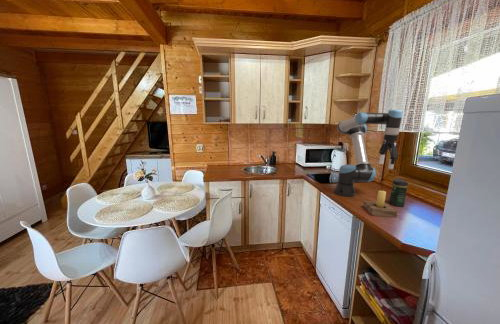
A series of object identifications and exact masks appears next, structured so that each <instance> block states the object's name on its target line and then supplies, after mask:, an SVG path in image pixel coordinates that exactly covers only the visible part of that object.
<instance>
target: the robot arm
mask: <svg viewBox="0 0 500 324" xmlns="http://www.w3.org/2000/svg"><path fill="white" fill-rule="evenodd" d="M402 119H403V109H390V110H388V112H364V111H363V112H357V113H356V115H355V116H354V117H352V118H349V119H347V120H341V121H340V122H338V123H337V125H336V130H337V131H338V133H340V134H342V135H348V136H349V138H350V139H351V141H352V147H353V153H354V158H355V165H354V164H343V165H341V166H340V167H339V170H338V178H337V179H338V180H337V184H336V186H335V188H334V193H335V194H337V195H338V196H341V197H342V196H343V197H347V198H348V197H349V198H350V197H355V196H356V190H355V186H354V185H355V182H359V183H362V182H365V183H367V182H368V183H369V182H370V183H371V182H373V181H374V180H375V178H376V175H377V171H376V169H375V167H373V166H372V165H371V163H370V162H369V160H368V154H367V151H366V143H365V139H364V137H365V135H366V133H367V130H368V129H367V128H368V127H367V126H368V125H385V128H384V135H383V141H382V144H381V146H380V149H379V151H378V153H379V161H378V165H384V162H385V157H386V153H387V151H389V152H388V153H389V156H390V157H389V162H388V167H387V168H388V169H389V170H394V168H395V167H394V166H395V163H396V160H397V159H398V157H399V156H398V154H399V153H398V143H397V141H398V138H399V134H400V127H401V123H402Z"/></svg>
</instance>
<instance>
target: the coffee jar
mask: <svg viewBox="0 0 500 324" xmlns="http://www.w3.org/2000/svg"><path fill="white" fill-rule="evenodd" d="M391 185H392V187H391V193H390V196H389V203H390V204H392V205H393V206H397V207H404V206H405V201H406V196H407V195H406V194H407V189H408V186H409V182H408V181H405V180H404V179H402V178H394V179H393V180H392V183H391Z"/></svg>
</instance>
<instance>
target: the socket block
mask: <svg viewBox="0 0 500 324" xmlns="http://www.w3.org/2000/svg"><path fill="white" fill-rule="evenodd" d="M376 202H377V201H370V200H364V201H363V208H364V209H365V210H366V211H367V212H368V213H369V215H371V216H372V217H373V216H374V217H387V218H397V216H398V215H397V214H398V211H397V210H396V209H395V208H393V207H392V206H391V205H390V204H388V203H387V202H385V203H384V208H377V207H376Z"/></svg>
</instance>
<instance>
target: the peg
mask: <svg viewBox="0 0 500 324" xmlns="http://www.w3.org/2000/svg"><path fill="white" fill-rule="evenodd" d="M386 197H387V191H385V190H378V191H377V196H376V201H375V202H376V207H377V208H384V203H386V202H385V201H386Z"/></svg>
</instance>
